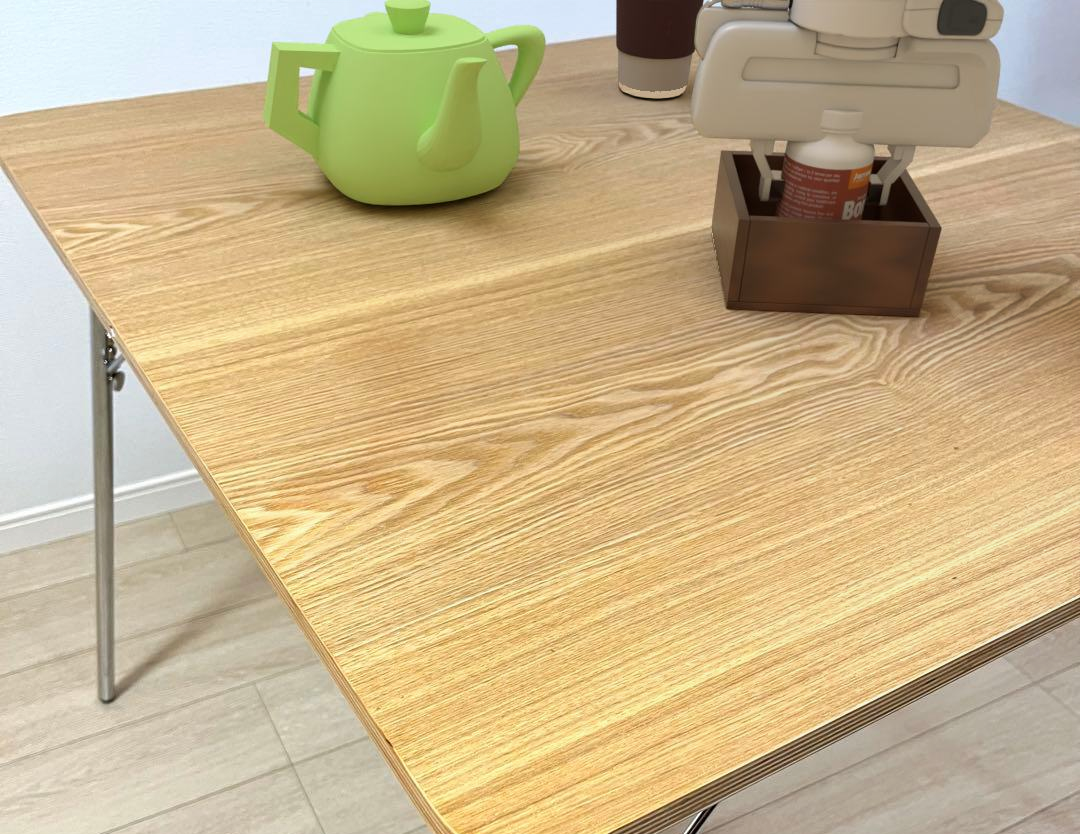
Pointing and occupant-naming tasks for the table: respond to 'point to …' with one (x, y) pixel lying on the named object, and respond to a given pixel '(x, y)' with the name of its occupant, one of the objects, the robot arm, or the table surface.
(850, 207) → the pill bottle
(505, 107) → the teapot
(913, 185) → the holder
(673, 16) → the coffee cup
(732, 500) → the table surface
